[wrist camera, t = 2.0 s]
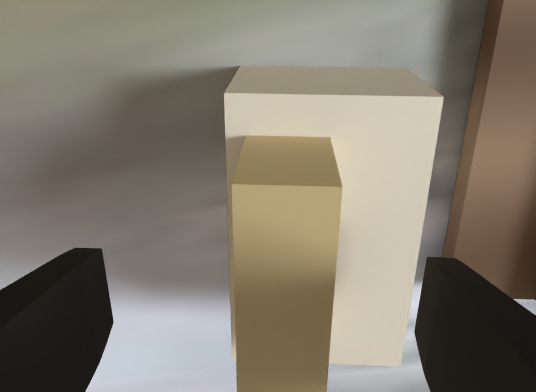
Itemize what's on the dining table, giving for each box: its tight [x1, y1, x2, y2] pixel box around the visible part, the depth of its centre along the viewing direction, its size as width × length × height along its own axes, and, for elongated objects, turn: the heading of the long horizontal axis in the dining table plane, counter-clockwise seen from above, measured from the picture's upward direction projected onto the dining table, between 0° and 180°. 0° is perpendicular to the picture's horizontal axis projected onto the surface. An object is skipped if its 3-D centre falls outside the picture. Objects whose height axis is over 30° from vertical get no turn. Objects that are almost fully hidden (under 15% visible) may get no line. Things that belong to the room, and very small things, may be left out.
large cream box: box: [224, 66, 444, 392], centre depth 13 cm, size 8×5×7 cm, turn 0°
